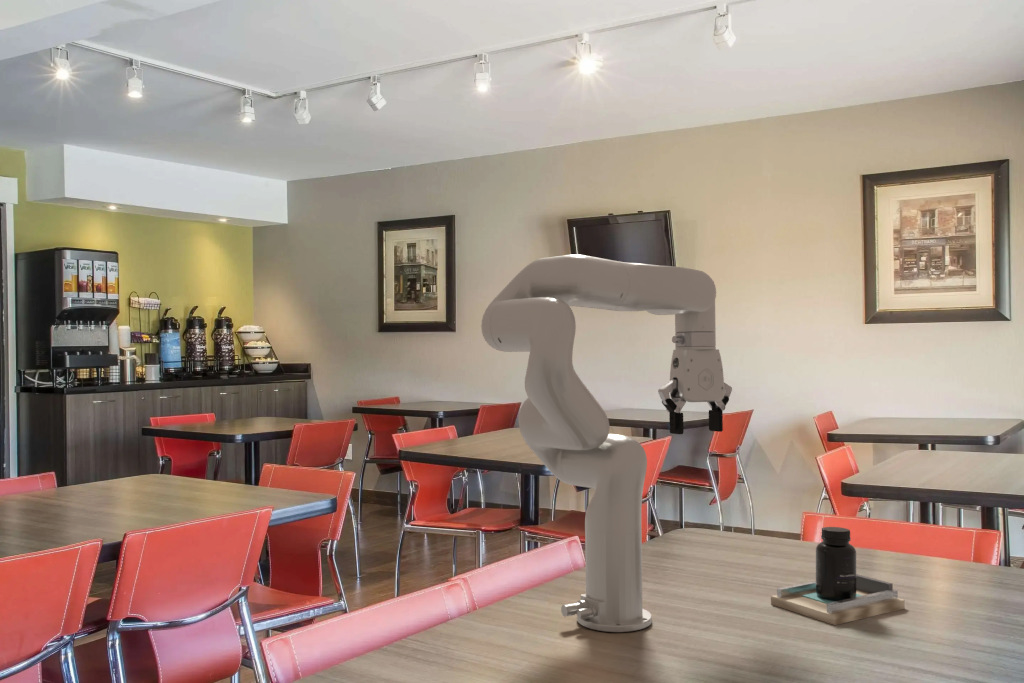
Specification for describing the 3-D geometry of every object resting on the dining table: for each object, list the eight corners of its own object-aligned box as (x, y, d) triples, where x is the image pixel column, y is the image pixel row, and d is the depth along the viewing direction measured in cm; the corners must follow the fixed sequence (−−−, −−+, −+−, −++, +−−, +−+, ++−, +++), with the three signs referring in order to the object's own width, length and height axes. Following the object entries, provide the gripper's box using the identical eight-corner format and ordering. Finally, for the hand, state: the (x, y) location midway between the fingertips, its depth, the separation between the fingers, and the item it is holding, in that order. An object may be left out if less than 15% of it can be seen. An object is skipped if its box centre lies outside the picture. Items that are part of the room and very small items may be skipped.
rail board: (834, 625, 143) (834, 600, 143) (771, 604, 155) (770, 581, 155) (904, 608, 152) (904, 585, 152) (839, 589, 164) (838, 568, 164)
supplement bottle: (850, 604, 149) (849, 534, 149) (810, 597, 153) (809, 529, 153) (861, 595, 154) (860, 528, 155) (823, 589, 159) (822, 523, 159)
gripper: (672, 341, 156) (673, 436, 156) (743, 341, 165) (744, 431, 165) (646, 342, 163) (647, 433, 163) (715, 342, 171) (716, 428, 171)
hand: (696, 432), depth 164 cm, fingers open, 9 cm apart
